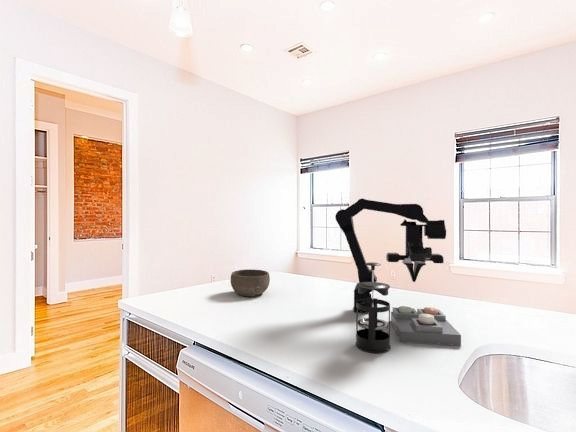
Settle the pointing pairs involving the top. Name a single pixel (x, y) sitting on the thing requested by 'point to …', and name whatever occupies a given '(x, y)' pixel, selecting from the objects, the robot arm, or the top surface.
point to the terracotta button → (430, 311)
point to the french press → (372, 318)
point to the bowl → (250, 282)
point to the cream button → (426, 318)
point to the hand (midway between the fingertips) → (413, 281)
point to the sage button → (404, 309)
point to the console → (424, 328)
